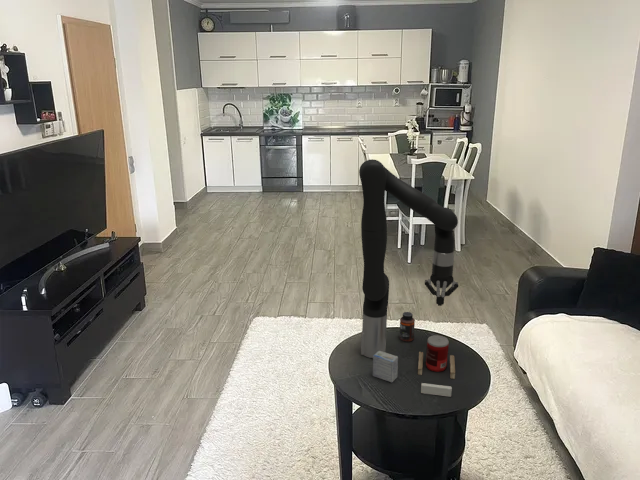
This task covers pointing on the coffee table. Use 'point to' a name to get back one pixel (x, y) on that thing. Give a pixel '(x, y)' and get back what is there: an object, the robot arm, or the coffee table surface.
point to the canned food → (437, 353)
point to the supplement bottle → (407, 327)
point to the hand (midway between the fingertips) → (439, 305)
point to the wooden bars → (452, 365)
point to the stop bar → (436, 389)
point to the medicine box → (385, 366)
